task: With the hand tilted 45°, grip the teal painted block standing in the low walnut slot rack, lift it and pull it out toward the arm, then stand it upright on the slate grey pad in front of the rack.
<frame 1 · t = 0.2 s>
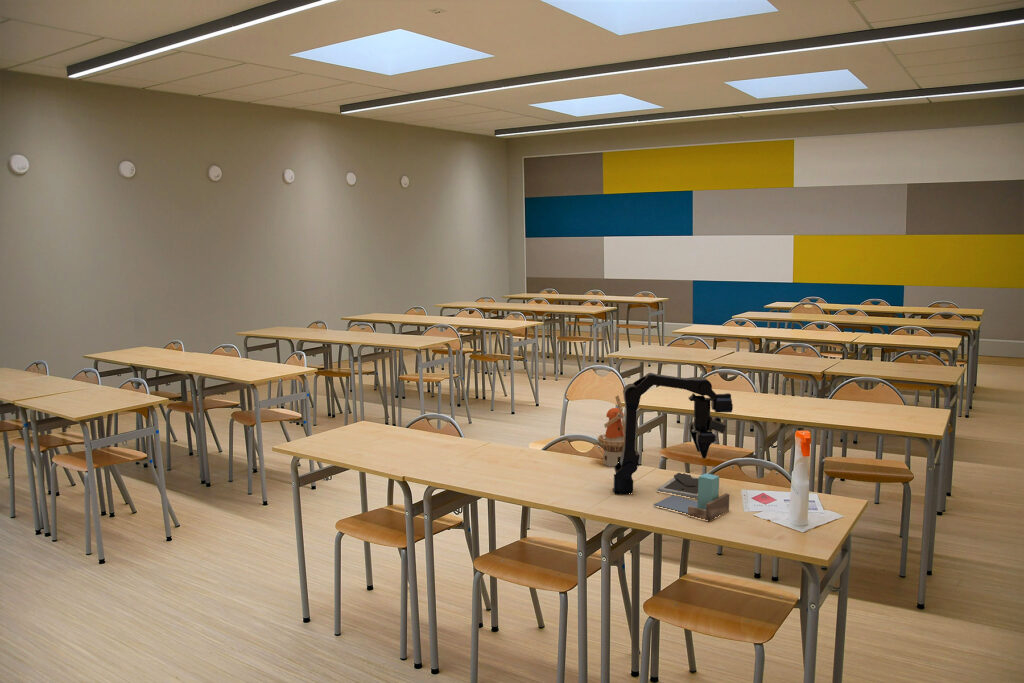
hand: (701, 454, 281), 14 cm above the table, tool pointing down, fingers open, 9 cm apart
walnut slot rack: (707, 513, 262), on the table
windmill: (612, 465, 319), on the table
slate pad: (679, 506, 269), on the table
picture frame: (688, 490, 289), on the table
teal block: (707, 513, 262), on the table
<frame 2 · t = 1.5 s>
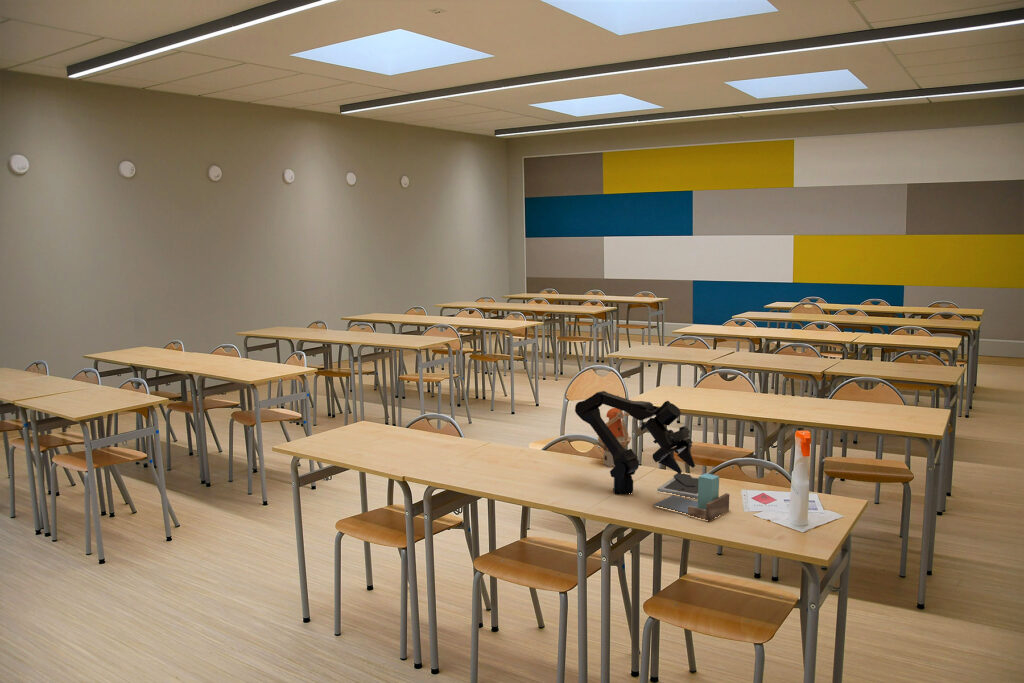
hand: (687, 469, 266), 14 cm above the table, tool tilted 45°, fingers open, 9 cm apart
nothing on the table moved.
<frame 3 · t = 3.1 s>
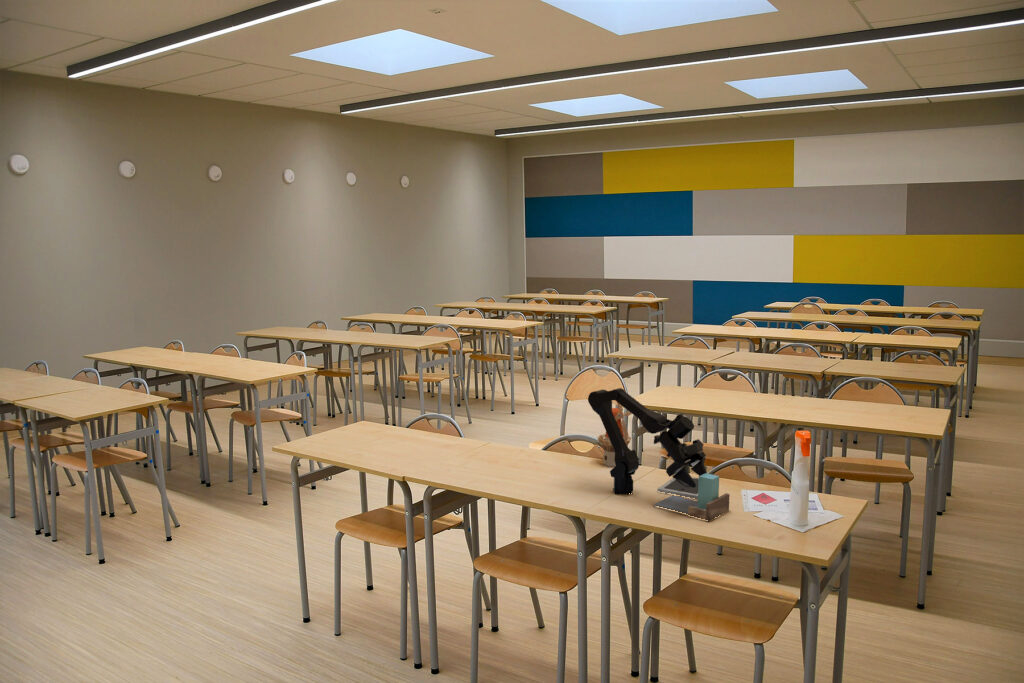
hand: (701, 483, 263), 10 cm above the table, tool tilted 45°, fingers open, 9 cm apart
nothing on the table moved.
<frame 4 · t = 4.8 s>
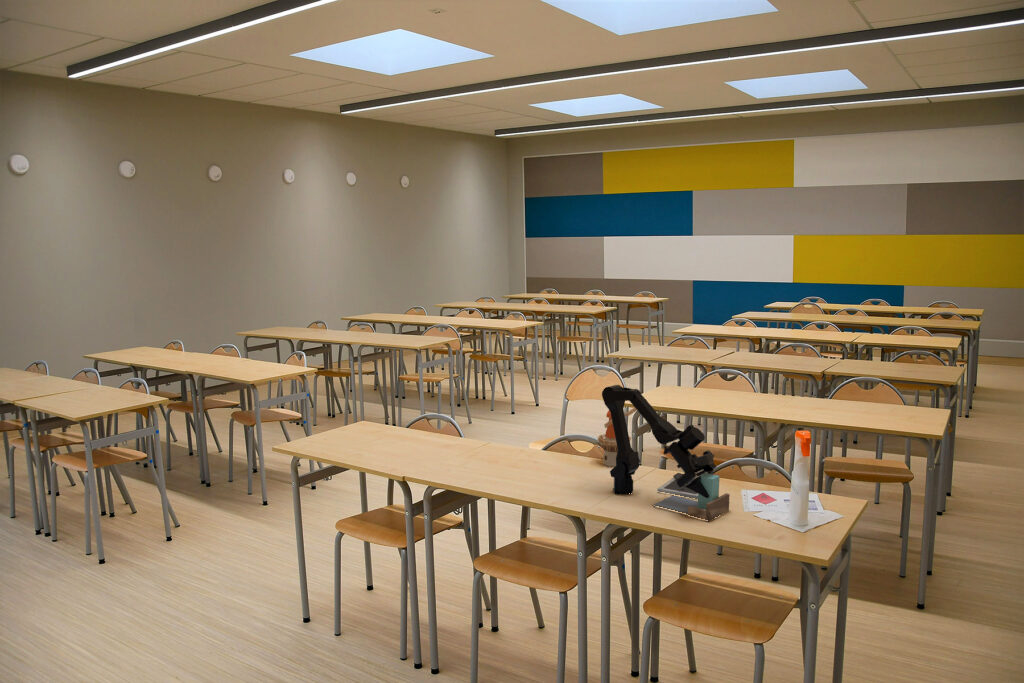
hand: (712, 495, 260), 7 cm above the table, tool tilted 45°, fingers closed on teal block, 5 cm apart
teal block: (707, 513, 262), on the table, touching gripper
everything else where it was.
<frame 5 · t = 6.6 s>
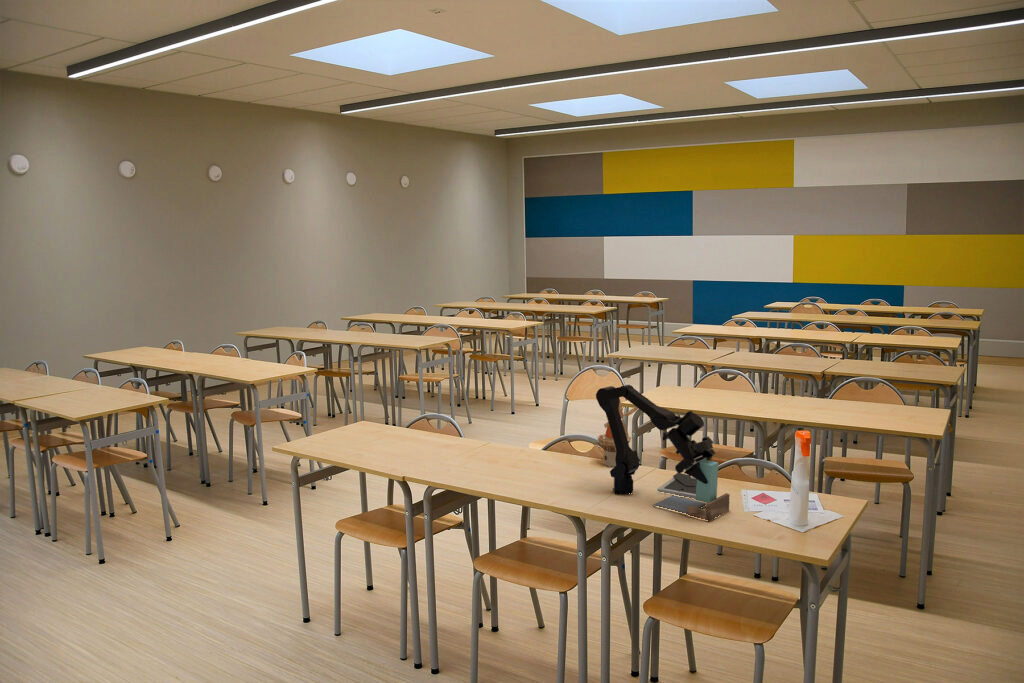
hand: (710, 481, 260), 11 cm above the table, tool tilted 45°, fingers closed on teal block, 5 cm apart
teal block: (706, 499, 262), point 5 cm above the table, touching gripper
everything else where it was.
when the fingers open (9 cm above the table, at t = 8.6 s): teal block drops 1 cm, resting on slate pad.
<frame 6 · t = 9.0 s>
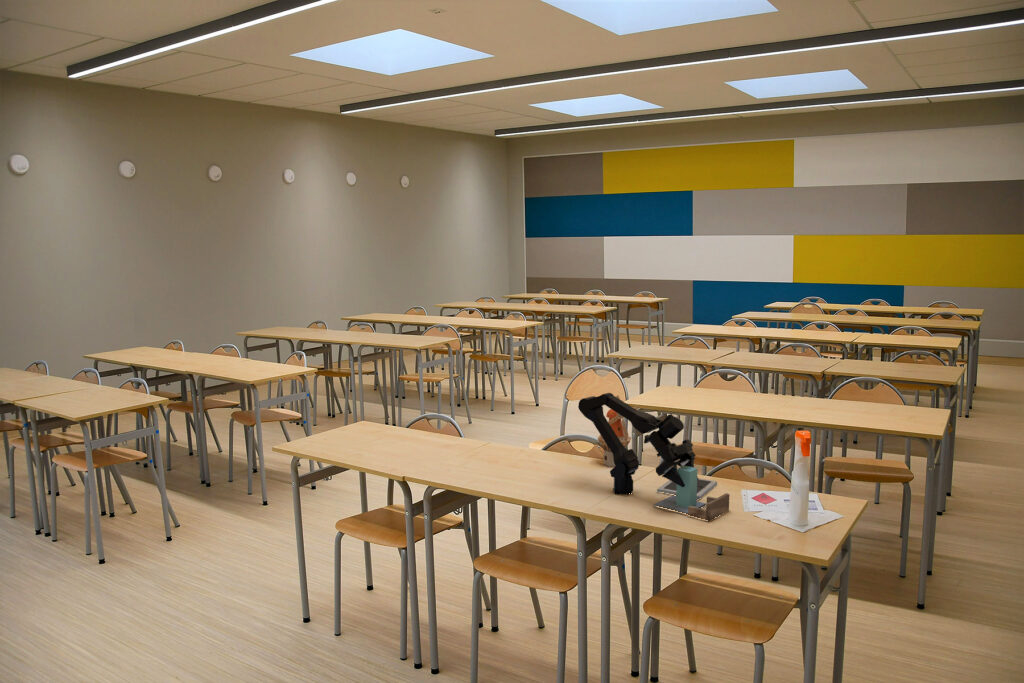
hand: (690, 483, 265), 9 cm above the table, tool tilted 45°, fingers open, 9 cm apart
teal block: (686, 505, 267), point 1 cm above the table, touching slate pad
everything else where it was.
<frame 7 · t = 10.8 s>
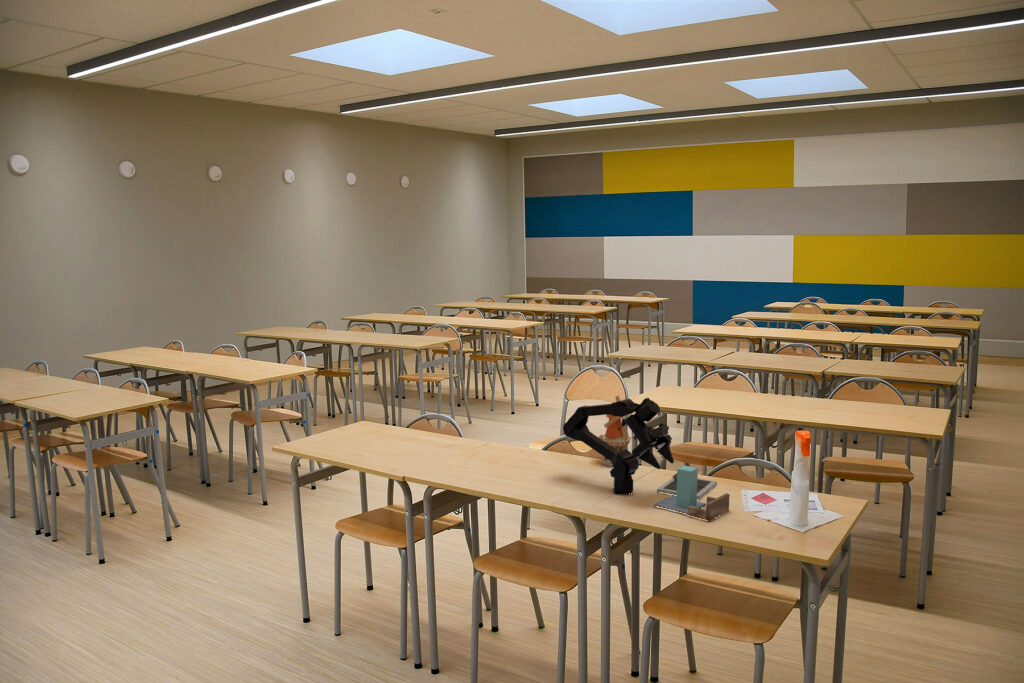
hand: (666, 465, 271), 13 cm above the table, tool tilted 45°, fingers open, 9 cm apart
nothing on the table moved.
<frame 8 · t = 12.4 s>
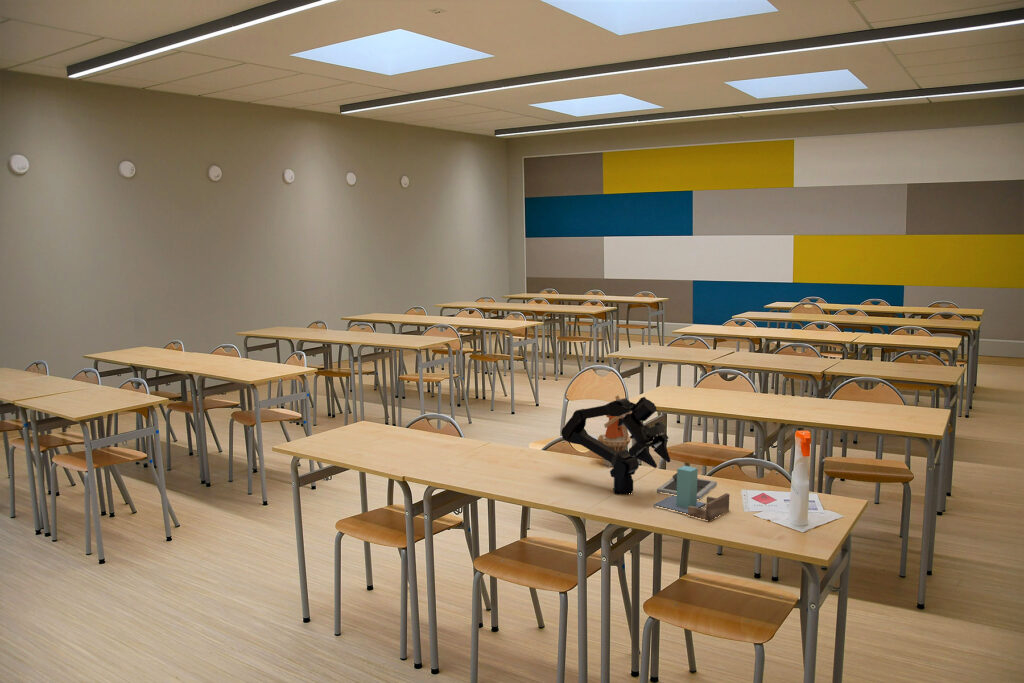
hand: (663, 464, 272), 14 cm above the table, tool tilted 45°, fingers open, 9 cm apart
nothing on the table moved.
at the end: teal block inside the target area on the slate pad (2.4 cm from its centre), point 1.0 cm above the slate pad's base; teal block tilted 0°; the gripper is holding nothing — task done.
